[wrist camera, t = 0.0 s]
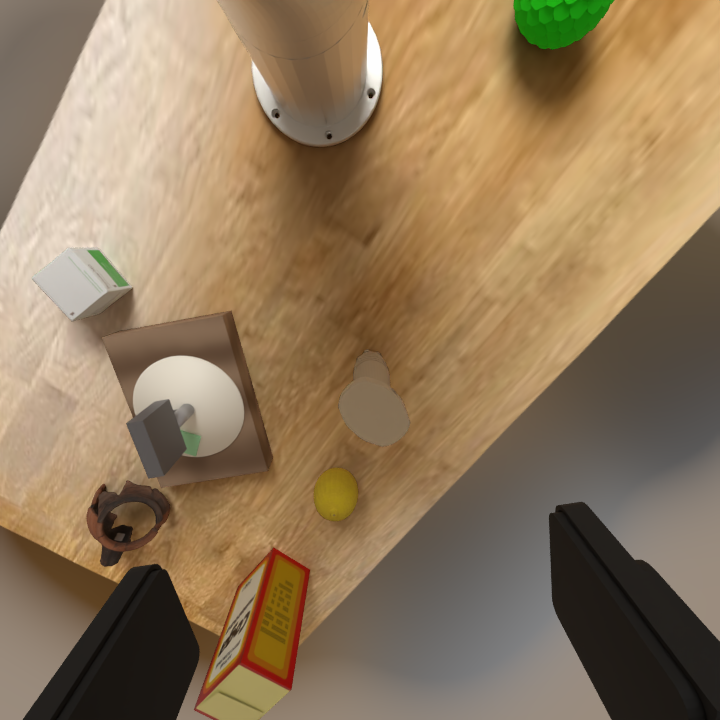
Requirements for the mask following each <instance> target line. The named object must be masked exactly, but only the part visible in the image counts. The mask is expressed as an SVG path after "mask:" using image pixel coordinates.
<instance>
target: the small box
mask: <svg viewBox="0 0 720 720" xmlns="http://www.w3.org/2000/svg"><path fill="white" fill-rule="evenodd" d="M32 280H33V281H34V282H35V283H36V284H37V285H38V286H39V287H40V288H41V289H42V290H43V291H44V293H45V294H46V295H47V296H48V297H49V298H50V299H51V300H52V301H53V302H54V303H55V304H56V305H57V306H58V307H59V308H60V309H61V310H62V312H63V313H64V314H65V315H66V316H67V317H68V318H69V319H70V320H71V321H76V320H79V319H83V318H87V317H90V316H94V315H97V314H100V313H101V312H103V311H104V310H105V309H106V308H108V307H109V306H110V305H111V304H113V303H114V302H115V301H117V300H118V299H119V298H120V297H122V296H123V295H124V294H126V293H127V292H128V291H129V290H131V289H132V288H133V287H132V286H131V285H130V284H129V283H128V282H127V280H126V279H125V278H124V277H123V276H122V275H121V274H120V272H119V271H118V270H117V269H116V268H115V267H114V266H113V264H112V263H111V262H110V261H109V260H108V259H107V257H106V256H105V255H104V254H103V253H102V251H101V250H100V249H99V248H97V247H93V248H67V249H66V250H65V251H64V252H63V253H61V254H60V255H59V256H58V257H56V258H55V259H54V260H53V261H52V262H51V263H49V264H48V265H47V266H46V267H44V268H43V269H42V270H40V271H39V272H38V273H37V274H35V275H34V276H33V277H32Z"/></svg>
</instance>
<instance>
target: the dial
mask: <svg viewBox="0 0 720 720" xmlns="http://www.w3.org/2000/svg"><path fill="white" fill-rule="evenodd" d="M166 399H169V400H170V403H171V406H172V408H173V410H176V409H179V408H180V407H181V406H182V405H183V404H190V405H192V406H193V407H194V414H193V415H192V416H191V417H190V418H189V419H188V420H187V421H186V422H185V423H184V424H183V425H182V426H181V427H180V431H181V434H182V436H183V439H184V442H185V445H186V447H187V450H186V451H185V452H184V453H183V454H182V456H188V457H204V456H209V455H213V454H215V453H218V452H220V451H222V450H224V449H225V448H227V447H228V446H229V445H230V444H231V443H232V442H233V441H234V440H235V439H236V437H237V436H238V434H239V432H240V431H241V428H242V425H243V421H244V404H243V400H242V397H241V394H240V392H239V390H238V388H237V386H236V385H235V383H234V382H233V380H232V379H231V378H230V377H229V376H228V375H227V374H226V373H225V372H224V371H223V370H222V369H220V368H219V367H217V366H216V365H214V364H212V363H210V362H208V361H206V360H203V359H200V358H197V357H192V356H171V357H167V358H164V359H161V360H159V361H157V362H155V363H153V364H152V365H150V366H149V367H148V368H147V369H145V371H144V372H143V373H142V374H141V375H140V377H139V378H138V380H137V383H136V385H135V388H134V392H133V407H134V412H135V415H138V414H139V413H140V412H142V411H143V410H144V409H145V408H147V407H148V406H149V405H151V404H152V403H153V402H155V401H160V400H166Z"/></svg>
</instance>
